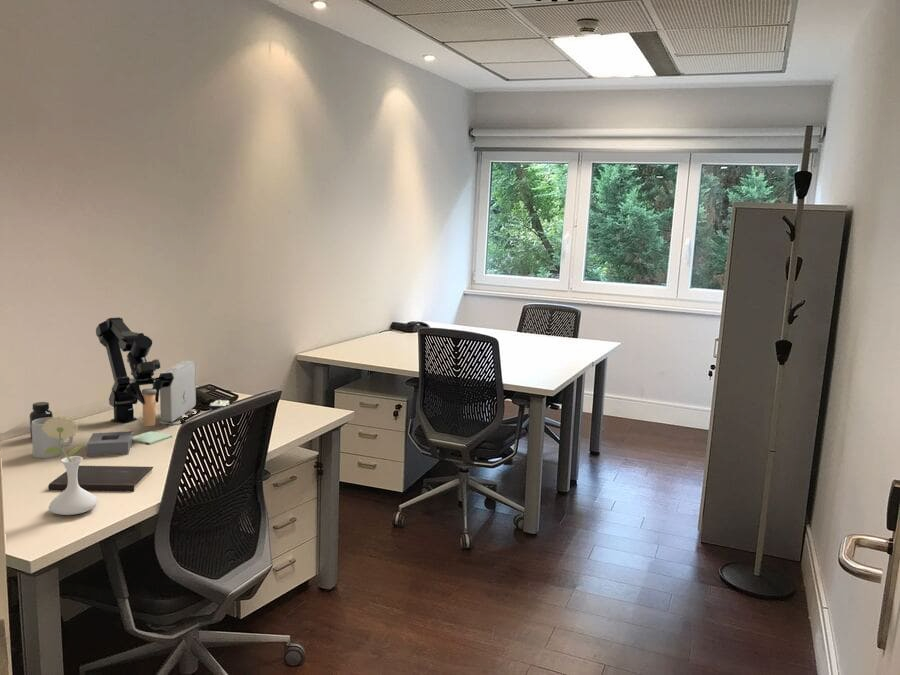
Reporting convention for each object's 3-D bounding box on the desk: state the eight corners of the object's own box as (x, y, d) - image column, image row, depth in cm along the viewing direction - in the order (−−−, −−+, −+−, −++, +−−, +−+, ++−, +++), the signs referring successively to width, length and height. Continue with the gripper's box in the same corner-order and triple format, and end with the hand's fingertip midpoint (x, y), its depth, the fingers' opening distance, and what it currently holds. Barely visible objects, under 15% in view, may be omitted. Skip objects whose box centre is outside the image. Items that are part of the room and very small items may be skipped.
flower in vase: (106, 503, 193) (103, 412, 189) (83, 520, 182) (79, 424, 178) (58, 500, 193) (54, 409, 190) (32, 517, 182) (27, 421, 178)
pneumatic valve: (230, 428, 265) (230, 396, 264) (222, 437, 254) (222, 404, 252) (215, 427, 265) (214, 395, 263) (206, 437, 254) (205, 403, 252)
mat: (128, 440, 247) (128, 438, 247) (150, 432, 256) (150, 431, 256) (150, 444, 243) (150, 442, 243) (172, 436, 252) (172, 435, 252)
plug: (139, 425, 246) (139, 391, 245) (145, 422, 251) (145, 388, 249) (153, 426, 246) (153, 391, 245) (158, 423, 251) (158, 389, 249)
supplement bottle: (25, 438, 244) (24, 404, 242) (43, 433, 250) (42, 400, 248) (40, 441, 241) (38, 406, 240) (58, 436, 248) (56, 402, 246)
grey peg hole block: (93, 444, 241) (93, 433, 240) (132, 442, 244) (132, 431, 244) (87, 456, 229) (86, 443, 229) (128, 453, 233) (128, 441, 232)
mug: (27, 458, 225) (25, 423, 224) (41, 449, 234) (40, 416, 232) (66, 459, 226) (65, 424, 224) (79, 450, 234) (78, 417, 233)
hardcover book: (74, 472, 216) (74, 465, 216) (153, 474, 218) (153, 466, 217) (48, 492, 200) (48, 484, 200) (134, 493, 202) (133, 485, 201)
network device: (177, 427, 263) (176, 373, 260) (153, 426, 263) (151, 372, 260) (201, 409, 289) (201, 360, 286) (179, 409, 289) (178, 359, 286)
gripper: (115, 354, 242) (127, 393, 235) (171, 349, 254) (184, 386, 248) (108, 373, 249) (120, 411, 242) (163, 367, 261) (175, 404, 255)
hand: (150, 402), depth 247 cm, fingers closed on plug, 4 cm apart
